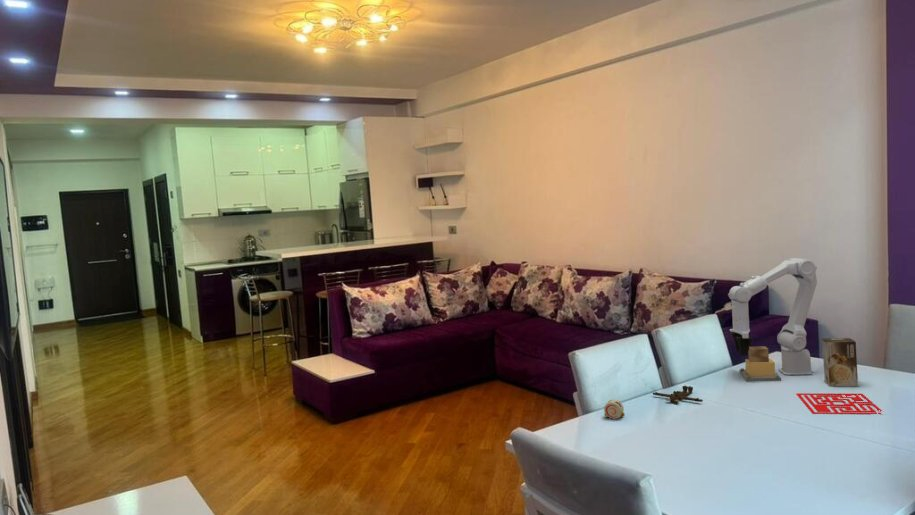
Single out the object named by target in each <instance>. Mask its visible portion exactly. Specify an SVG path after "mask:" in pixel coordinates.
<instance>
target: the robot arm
mask: <svg viewBox="0 0 915 515" xmlns="http://www.w3.org/2000/svg"><path fill="white" fill-rule="evenodd" d="M817 269H818V267H817V265H816V264H815V263H814V261H813V260H811V259H809V258H798V257H795V256H794V257H790V258H788V259H786V260H783V261H782V262H781V263H780V264H779V265H776V266H775V267H774V268H772V269H771V270H769V271H767V272H766V273H764V274H763V275H751V277H750V278H749V279H748V280H746V281H745V282H741V283H739V285H735V286H732V287H731V288H730V289H729V293H727V296H728V297H729V299H730V300H731V316H732V328H730V329H729V331H730V334H731V337H732V338H733V341H734V344H735V349H736V351H738V352H740V354H741V355H740V356H745V357H746V356H749V352H748V351H749V347H751V346H750V345H751V344H752V341H753V340H754V338H753V337H752V336H750V337H749V333H750V331H751V329H750V316H749V313H750V312H749V301H750V300H751V298H752V297H754V296H755V295H756V294H758V293H760V292H761V291H763V290H765V289H766V288H767V287H768V286H767V285H768V284H769V283H771V282H773V281H775V280H778V279H780V278H781V277H784V276H785V275H792V276H793V277H794V279H795V280H797V282H798V284H799V285H798V288H797V291H796V294H795V298H794V301H793V304H792V308H791V311H790V315H789V318H788V321H787V323H785V324H784V325H783V326H782V328H781V330H780V332H779V333H777V337H776V339H777V343H778V344H779V345H780V350H781V351H780V352H781V367H780V368H778V370H779V371H780V372H781V373H782V374H783V375H785V376H797V375H799V376H801V375H803V376H807V375H813V372H812V366H811V365H812V363H811V354H810V351H809V350H808V349H806V346H807V335H808V334H807V331H806V329H805V325H806V320H807V318H808V314H809V311H810V308H811V303H812V300H813V298H814V294H815V290H816V287H817V284H818V280H817V273H816V272H817Z"/></svg>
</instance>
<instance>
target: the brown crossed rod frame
mask: <svg viewBox="0 0 915 515" xmlns="http://www.w3.org/2000/svg"><path fill="white" fill-rule="evenodd" d="M693 390H694V387H693V386H687V385H683V386H682V391H680V390H676V391H675V390H673V392H672V393H670V394H669V393H661V392H657V391H655V392H652V395H654V396H659V397H665V398H666V399H665V400H666V401H668V402H670V403H671V404H677V403H679V402H680V401H681V400H684V401H693V402H697V403H698V402H700V403H702V402H704V400H703V399H701V398H699V397H697V398H696V397H689V395H692V394H693Z"/></svg>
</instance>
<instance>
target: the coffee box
mask: <svg viewBox="0 0 915 515" xmlns="http://www.w3.org/2000/svg"><path fill="white" fill-rule="evenodd" d="M821 340H822V358H823V377H824V383H825V384H826V385H827V386H828V387H832V386H833V387H834V388H835V387H859V378H858V359H857V356H858V355H857V344H856V343H857V342H856V340H854V339H852V338H851V337H841V338H839V337H838V338H836V337H833V338H832V337H829V338H828V337H827V338H821Z"/></svg>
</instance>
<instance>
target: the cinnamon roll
mask: <svg viewBox="0 0 915 515" xmlns="http://www.w3.org/2000/svg"><path fill="white" fill-rule="evenodd" d="M603 411H604V414H603V415H604V417H605V418H607V417H609V418H608V419H611V418H612V419H611V420H616V419H617V420H618V419H620V418H624V417H625V412H624V405H623V403H622V402H621V401H620V400H619V399H615V398H613V399H609V400H608V401H607V402H606V403H605V405H604V407H603Z"/></svg>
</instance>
